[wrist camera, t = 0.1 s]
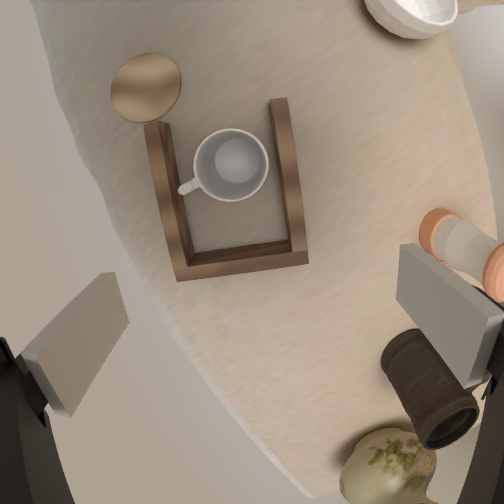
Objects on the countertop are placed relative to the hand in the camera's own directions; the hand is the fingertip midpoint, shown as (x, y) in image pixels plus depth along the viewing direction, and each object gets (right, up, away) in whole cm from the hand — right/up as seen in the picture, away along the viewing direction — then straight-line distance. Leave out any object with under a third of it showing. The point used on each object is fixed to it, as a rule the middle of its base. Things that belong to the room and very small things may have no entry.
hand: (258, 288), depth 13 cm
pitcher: (+30, -44, +44) cm, 69 cm away
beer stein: (+28, -14, +34) cm, 47 cm away
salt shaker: (+28, +5, +27) cm, 40 cm away
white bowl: (+20, +36, +17) cm, 44 cm away
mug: (-3, +13, +25) cm, 28 cm away
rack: (-3, +11, +26) cm, 28 cm away
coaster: (-14, +23, +21) cm, 35 cm away
